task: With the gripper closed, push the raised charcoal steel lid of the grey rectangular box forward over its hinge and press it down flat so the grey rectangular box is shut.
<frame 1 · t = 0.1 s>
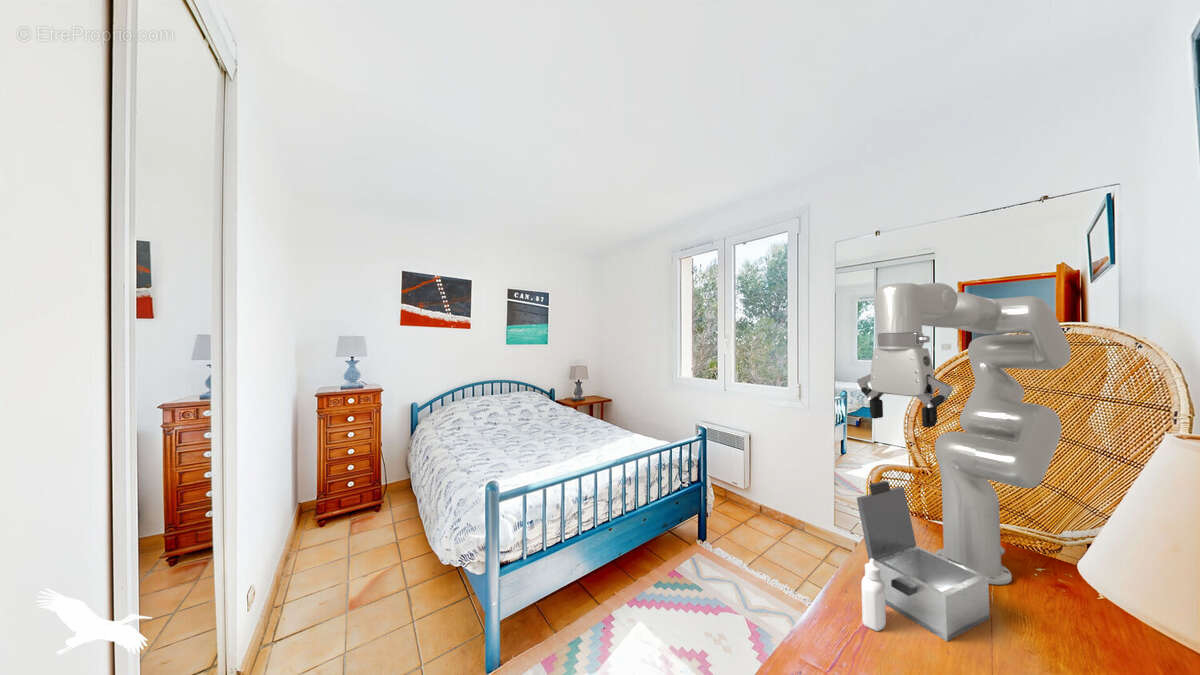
hand: (901, 422, 78), 37 cm above the table, tool pointing down, fingers open, 9 cm apart
grey rectangular box: (930, 608, 74), on the table
eye dropper bottle: (874, 623, 71), on the table
lid: (886, 517, 82), point 15 cm above the table, hinge at 100.0°
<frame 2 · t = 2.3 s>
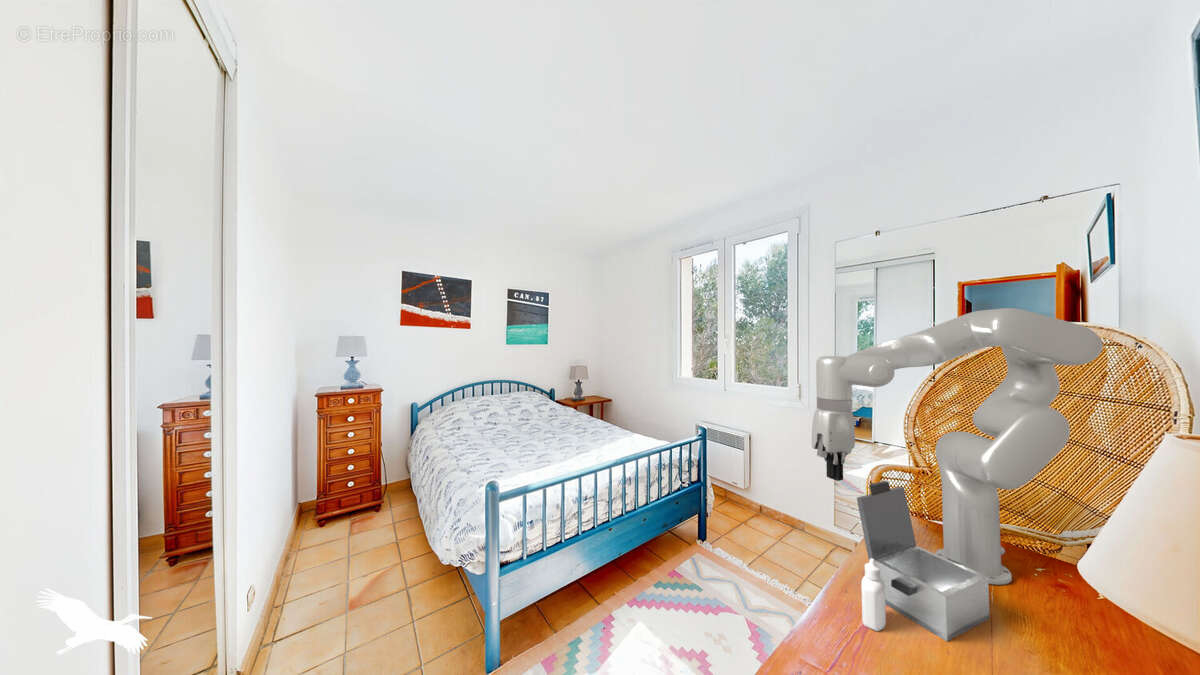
hand: (834, 478, 92), 20 cm above the table, tool pointing down, fingers closed
nothing on the table moved.
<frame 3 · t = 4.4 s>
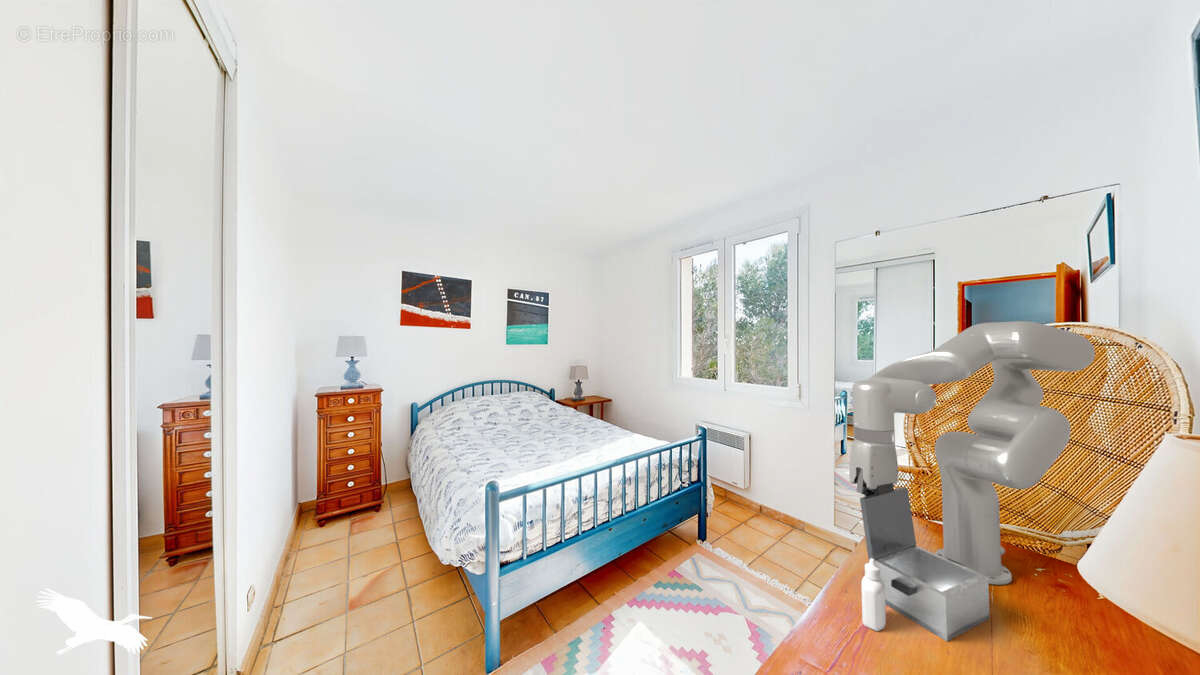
hand: (876, 516, 84), 14 cm above the table, tool pointing down, fingers closed
lid: (888, 517, 81), point 15 cm above the table, hinge at 96.6°, touching gripper
everything else where it was.
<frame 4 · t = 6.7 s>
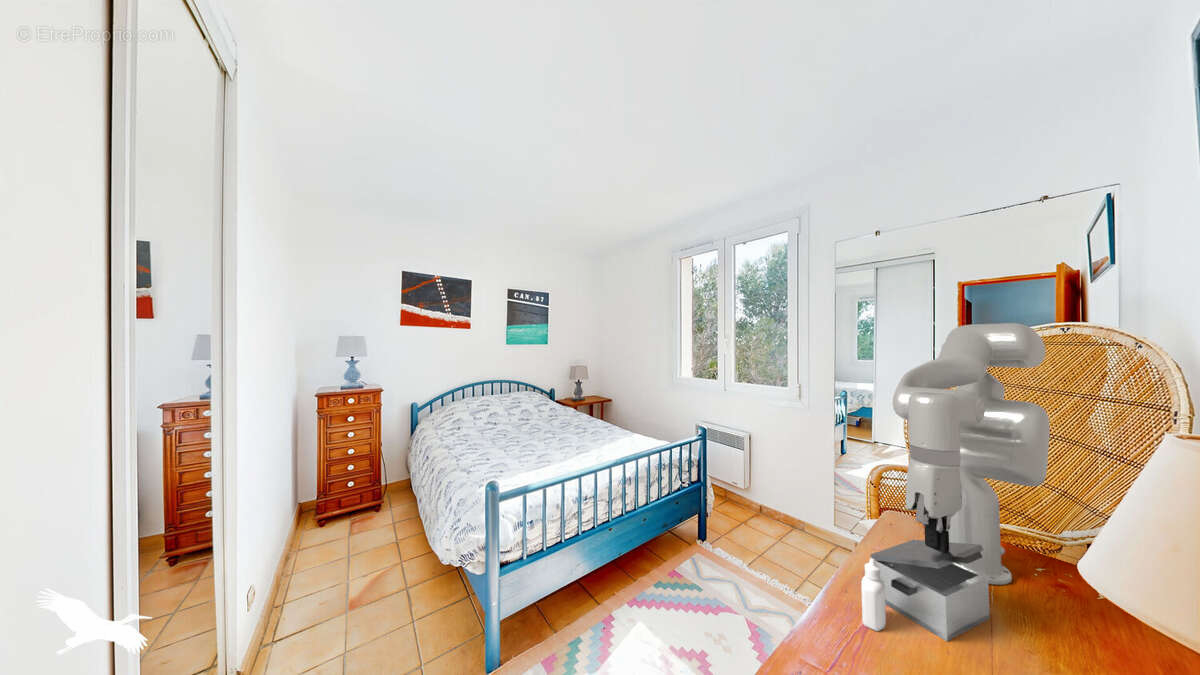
hand: (937, 548, 73), 13 cm above the table, tool pointing down, fingers closed
lid: (930, 553, 74), point 11 cm above the table, hinge at 22.1°, touching gripper
everything else where it was.
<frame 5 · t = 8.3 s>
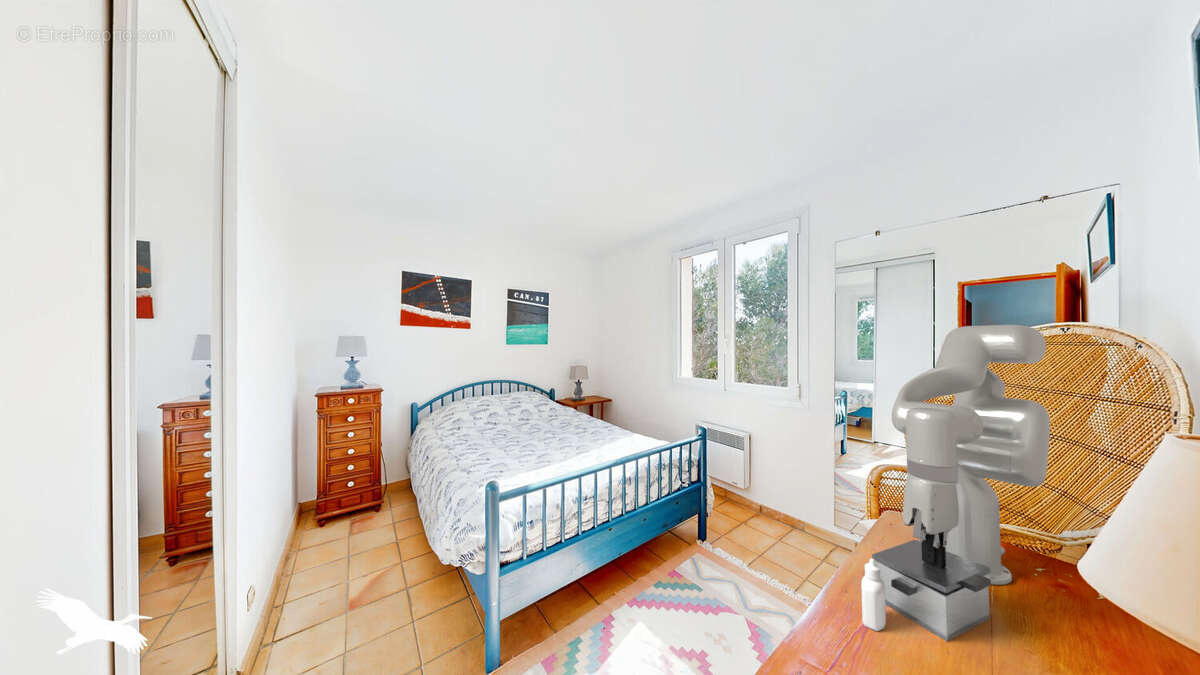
hand: (933, 564, 73), 10 cm above the table, tool pointing down, fingers closed
lid: (934, 565, 73), point 9 cm above the table, hinge at 3.6°, touching gripper
everything else where it was.
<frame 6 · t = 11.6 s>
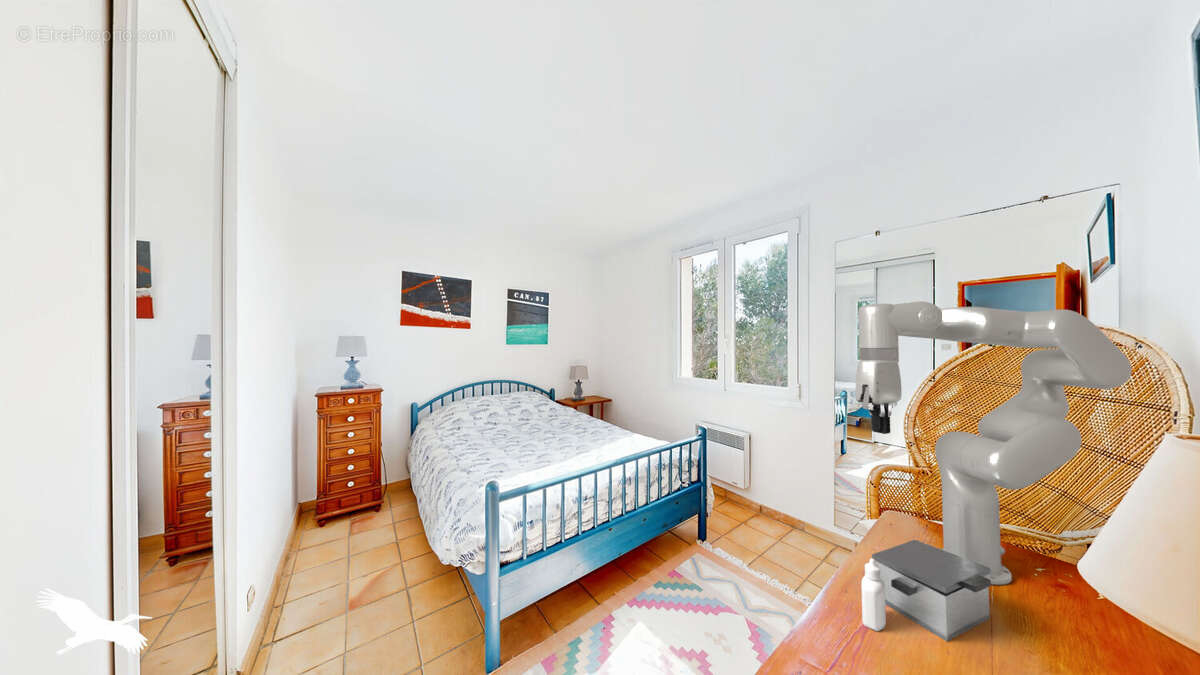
hand: (881, 432, 88), 32 cm above the table, tool pointing down, fingers closed
lid: (934, 566, 73), point 9 cm above the table, hinge at 3.3°
everything else where it was.
at the end: lid at +3° (first picture: +100°); eye dropper bottle moved 0.2 cm from its start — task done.
